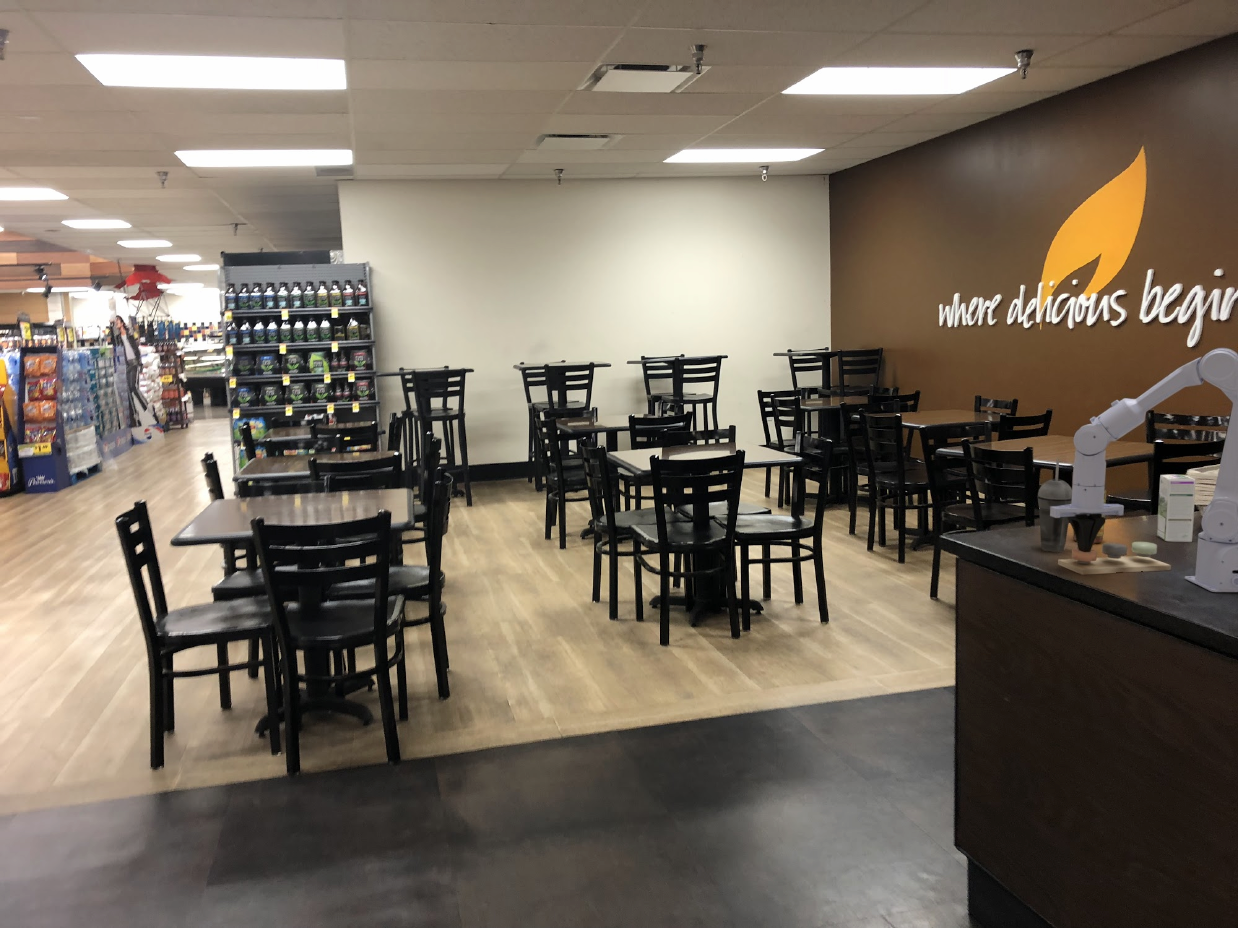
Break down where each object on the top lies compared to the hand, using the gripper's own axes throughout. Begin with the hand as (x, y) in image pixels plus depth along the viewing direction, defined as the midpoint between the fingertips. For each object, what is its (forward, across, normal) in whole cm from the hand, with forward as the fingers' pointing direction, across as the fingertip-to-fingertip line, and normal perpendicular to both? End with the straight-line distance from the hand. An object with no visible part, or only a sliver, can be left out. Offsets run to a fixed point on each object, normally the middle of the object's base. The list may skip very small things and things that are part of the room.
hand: (1084, 551), depth 187 cm
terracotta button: (+2, 0, 0) cm, 2 cm away
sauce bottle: (+4, -15, -22) cm, 27 cm away
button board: (+4, -6, 0) cm, 7 cm away
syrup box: (+4, -36, -20) cm, 41 cm away
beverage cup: (+4, -3, -16) cm, 17 cm away
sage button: (+2, -13, 0) cm, 13 cm away
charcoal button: (+1, -6, 0) cm, 7 cm away
